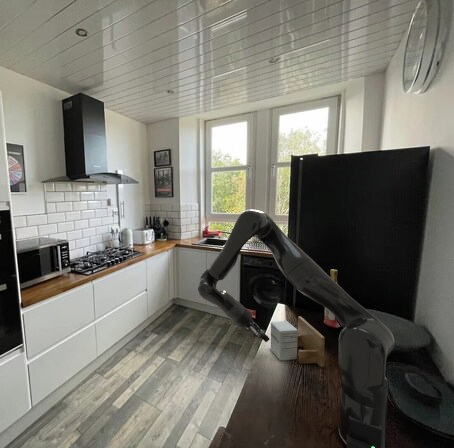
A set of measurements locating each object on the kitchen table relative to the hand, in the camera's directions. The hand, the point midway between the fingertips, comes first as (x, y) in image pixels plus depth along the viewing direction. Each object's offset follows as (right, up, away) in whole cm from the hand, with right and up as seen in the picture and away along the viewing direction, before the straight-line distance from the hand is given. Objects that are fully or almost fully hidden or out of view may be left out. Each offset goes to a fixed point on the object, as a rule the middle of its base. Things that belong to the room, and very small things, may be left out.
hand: (267, 339), depth 100 cm
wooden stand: (+14, -6, 0) cm, 15 cm away
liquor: (+40, -3, +19) cm, 45 cm away
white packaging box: (+7, -7, +1) cm, 10 cm away
